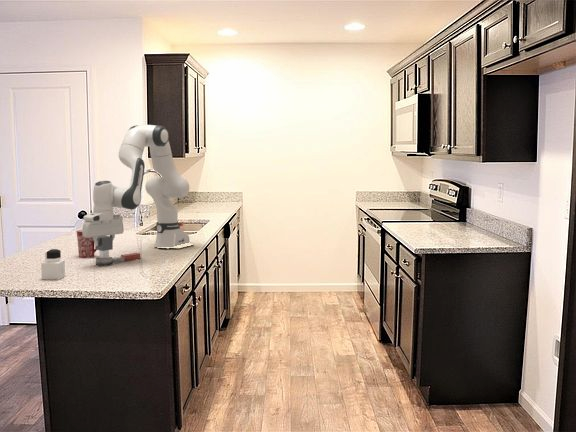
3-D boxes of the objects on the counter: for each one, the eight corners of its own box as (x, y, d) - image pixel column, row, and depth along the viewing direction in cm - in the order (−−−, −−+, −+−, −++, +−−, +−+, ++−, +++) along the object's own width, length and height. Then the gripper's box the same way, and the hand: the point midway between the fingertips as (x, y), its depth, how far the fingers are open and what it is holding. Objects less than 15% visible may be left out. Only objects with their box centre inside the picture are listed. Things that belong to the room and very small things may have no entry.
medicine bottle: (65, 276, 239) (64, 248, 237) (58, 279, 231) (58, 251, 230) (48, 275, 238) (47, 248, 237) (41, 279, 231) (40, 251, 230)
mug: (74, 258, 276) (73, 231, 274) (80, 254, 285) (79, 228, 283) (100, 258, 276) (99, 231, 275) (105, 255, 285) (104, 229, 284)
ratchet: (133, 257, 281) (133, 242, 280) (143, 259, 276) (143, 244, 275) (92, 264, 263) (92, 248, 262) (102, 266, 258) (101, 250, 257)
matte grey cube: (105, 247, 266) (105, 235, 266) (112, 249, 263) (112, 236, 262) (95, 249, 262) (95, 236, 261) (102, 250, 258) (102, 238, 258)
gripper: (118, 213, 271) (118, 241, 272) (80, 216, 255) (80, 246, 256) (126, 214, 267) (126, 243, 268) (88, 218, 251) (88, 248, 252)
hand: (103, 245), depth 262 cm, fingers closed on matte grey cube, 6 cm apart
